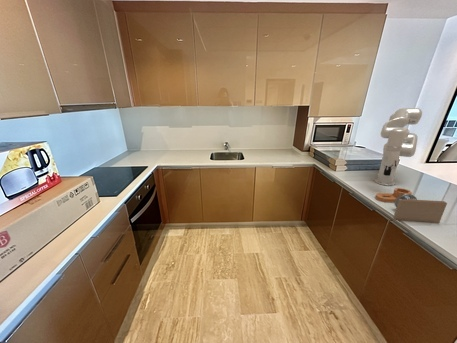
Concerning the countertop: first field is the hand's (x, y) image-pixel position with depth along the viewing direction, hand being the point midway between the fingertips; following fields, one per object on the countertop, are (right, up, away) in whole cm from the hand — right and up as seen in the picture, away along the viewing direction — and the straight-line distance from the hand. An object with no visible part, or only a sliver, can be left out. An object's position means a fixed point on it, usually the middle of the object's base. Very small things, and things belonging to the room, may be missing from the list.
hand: (386, 175), depth 130 cm
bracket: (-1, -16, -5) cm, 17 cm away
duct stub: (-5, -22, -21) cm, 30 cm away
